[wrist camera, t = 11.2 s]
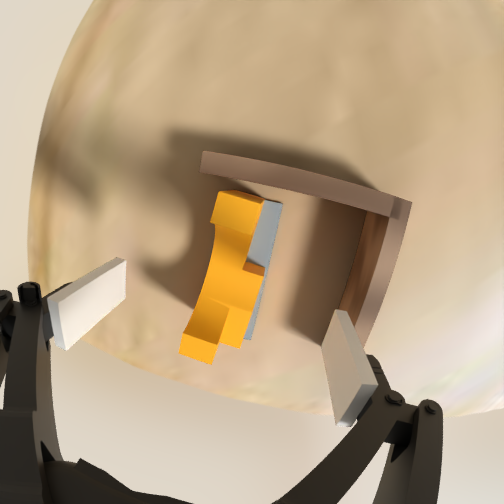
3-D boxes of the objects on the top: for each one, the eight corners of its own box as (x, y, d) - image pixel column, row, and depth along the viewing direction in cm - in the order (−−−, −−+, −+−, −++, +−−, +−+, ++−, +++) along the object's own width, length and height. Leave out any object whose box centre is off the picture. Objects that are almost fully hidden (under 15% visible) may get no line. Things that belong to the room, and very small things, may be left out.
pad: (223, 191, 22) (222, 191, 22) (282, 203, 22) (282, 204, 22) (200, 326, 26) (199, 328, 25) (250, 338, 26) (250, 340, 25)
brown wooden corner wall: (218, 157, 22) (203, 150, 17) (386, 198, 21) (412, 202, 17) (191, 319, 26) (174, 347, 21) (337, 349, 25) (347, 381, 20)
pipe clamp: (243, 329, 25) (234, 372, 19) (200, 315, 25) (178, 353, 19) (285, 205, 22) (289, 213, 16) (234, 189, 22) (218, 191, 16)
